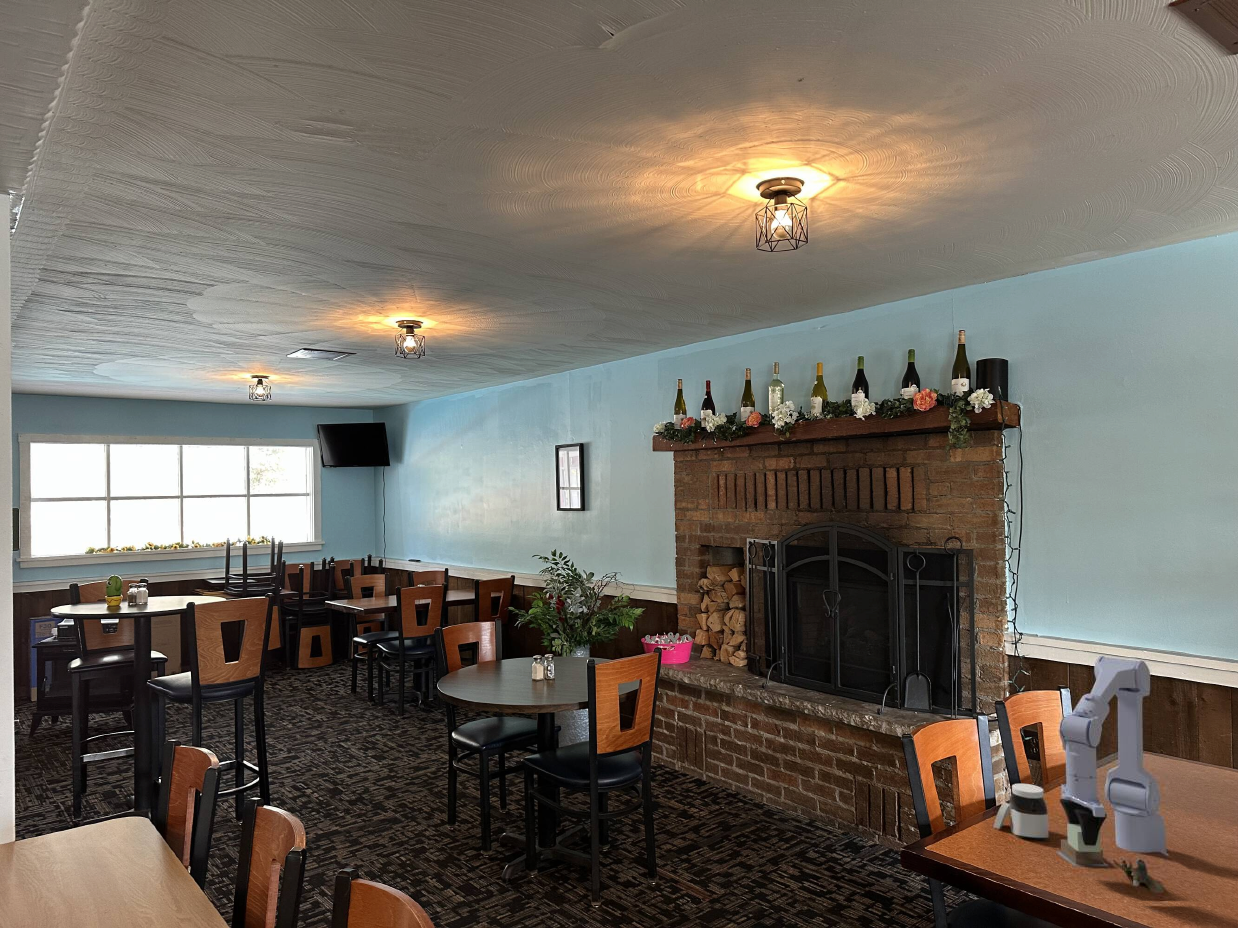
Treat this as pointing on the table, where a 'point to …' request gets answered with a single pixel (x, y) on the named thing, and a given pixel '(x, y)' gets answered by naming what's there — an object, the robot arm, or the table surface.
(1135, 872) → the eagle figurine
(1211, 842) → the table surface
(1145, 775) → the robot arm
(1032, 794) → the spread jar
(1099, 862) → the walnut block
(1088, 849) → the green block
